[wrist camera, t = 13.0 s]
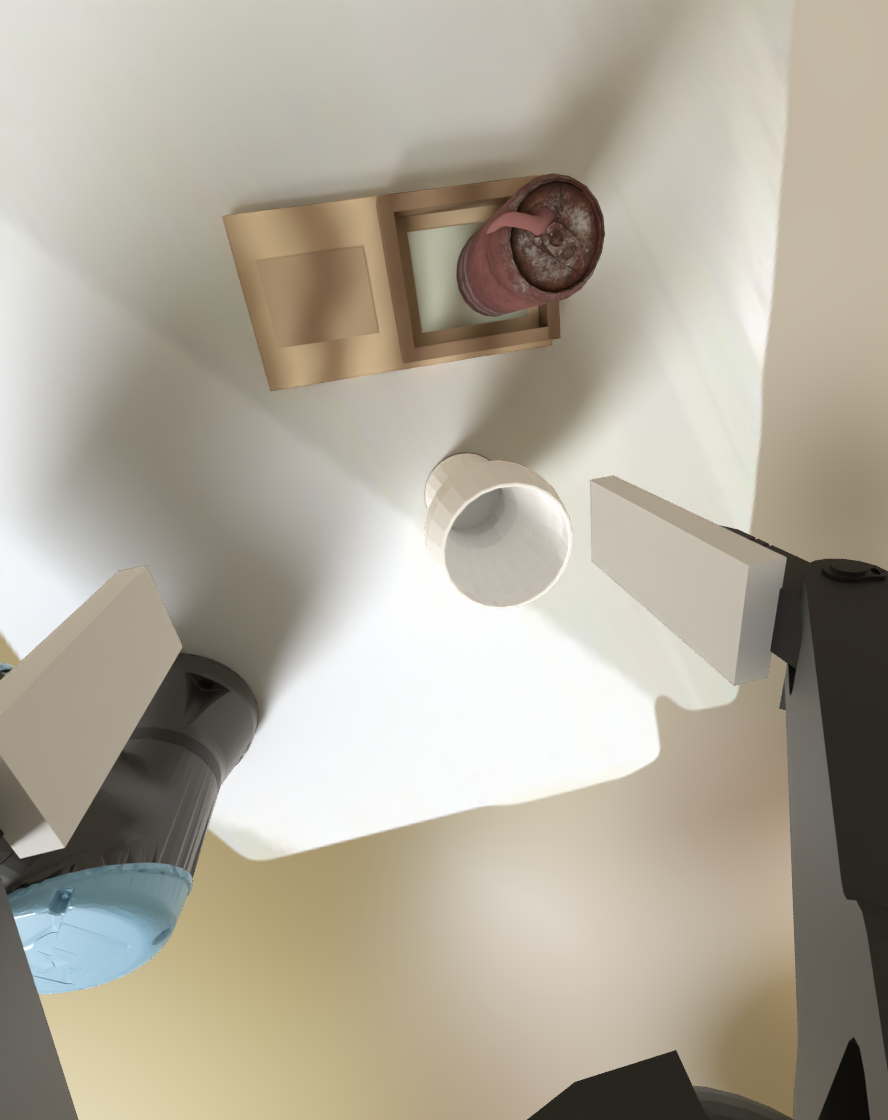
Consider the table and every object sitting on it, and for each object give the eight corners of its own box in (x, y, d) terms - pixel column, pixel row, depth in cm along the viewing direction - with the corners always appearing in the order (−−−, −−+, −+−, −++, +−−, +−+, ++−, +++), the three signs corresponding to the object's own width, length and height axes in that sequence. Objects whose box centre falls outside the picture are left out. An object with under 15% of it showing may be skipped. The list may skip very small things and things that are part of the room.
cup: (532, 456, 47) (605, 498, 34) (494, 554, 51) (546, 629, 37) (429, 422, 44) (463, 453, 31) (396, 529, 48) (412, 599, 34)
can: (455, 223, 37) (507, 156, 25) (534, 235, 38) (622, 178, 26) (448, 312, 40) (492, 292, 27) (522, 320, 41) (598, 306, 28)
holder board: (273, 389, 41) (266, 392, 38) (227, 221, 36) (214, 208, 33) (545, 345, 43) (560, 344, 40) (536, 180, 38) (552, 165, 35)
